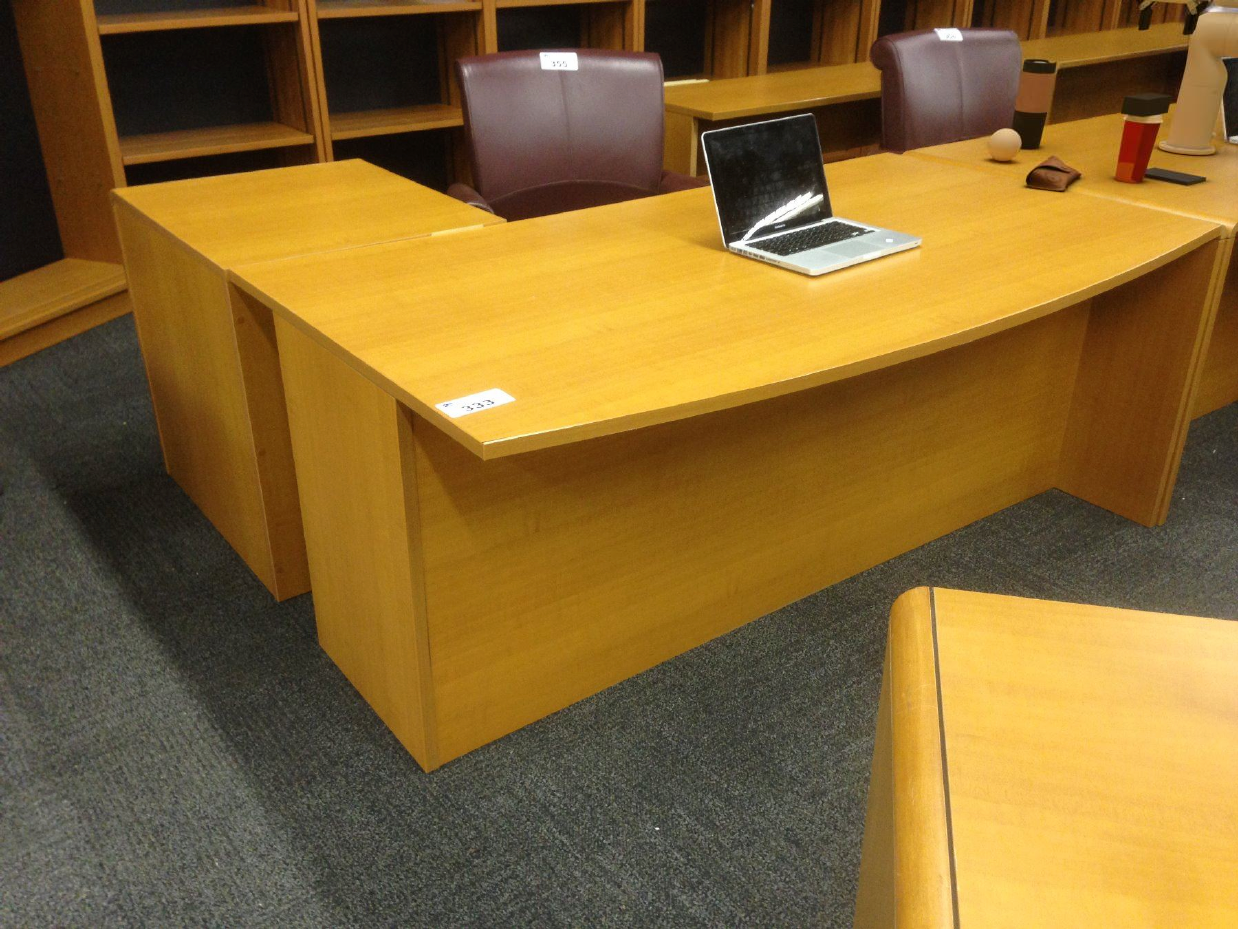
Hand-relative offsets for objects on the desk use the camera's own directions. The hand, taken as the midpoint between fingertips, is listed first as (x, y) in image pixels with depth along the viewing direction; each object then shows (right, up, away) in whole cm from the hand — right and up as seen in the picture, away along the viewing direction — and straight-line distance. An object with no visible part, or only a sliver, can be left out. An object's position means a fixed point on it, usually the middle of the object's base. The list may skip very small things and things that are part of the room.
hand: (1165, 32), depth 222 cm
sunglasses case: (-22, -31, +5) cm, 38 cm away
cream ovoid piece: (-26, -20, +24) cm, 41 cm away
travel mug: (-15, -12, +39) cm, 44 cm away
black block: (-4, -17, +1) cm, 17 cm away
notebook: (+6, -28, +10) cm, 31 cm away
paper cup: (-4, -29, +8) cm, 31 cm away
